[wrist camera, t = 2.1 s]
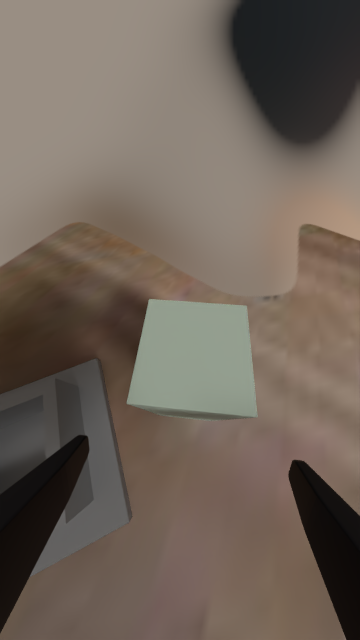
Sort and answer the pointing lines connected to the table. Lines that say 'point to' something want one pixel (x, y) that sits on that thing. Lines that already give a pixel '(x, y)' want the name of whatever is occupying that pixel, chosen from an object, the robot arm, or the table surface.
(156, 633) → the table surface
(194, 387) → the sage block
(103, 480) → the grey square socket base
